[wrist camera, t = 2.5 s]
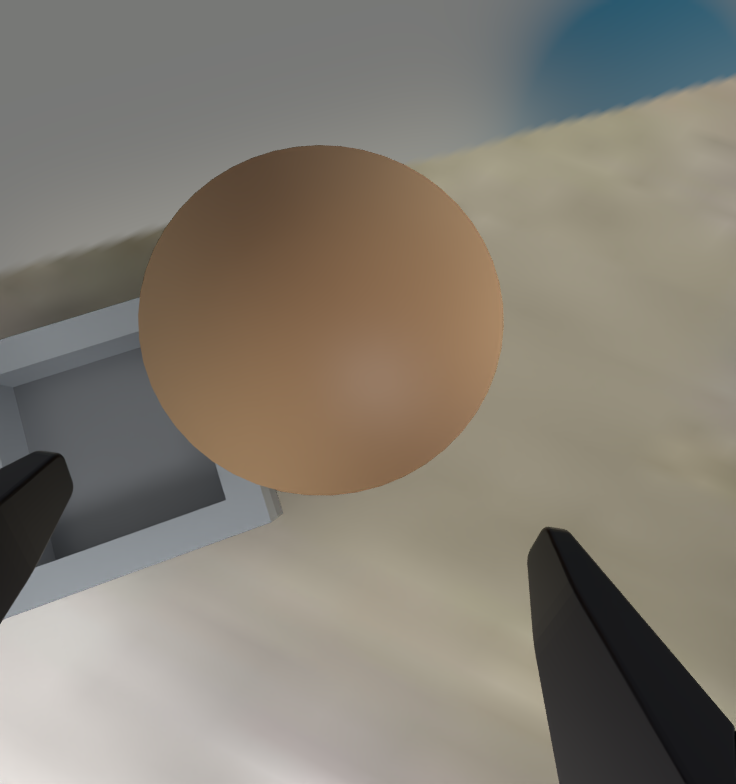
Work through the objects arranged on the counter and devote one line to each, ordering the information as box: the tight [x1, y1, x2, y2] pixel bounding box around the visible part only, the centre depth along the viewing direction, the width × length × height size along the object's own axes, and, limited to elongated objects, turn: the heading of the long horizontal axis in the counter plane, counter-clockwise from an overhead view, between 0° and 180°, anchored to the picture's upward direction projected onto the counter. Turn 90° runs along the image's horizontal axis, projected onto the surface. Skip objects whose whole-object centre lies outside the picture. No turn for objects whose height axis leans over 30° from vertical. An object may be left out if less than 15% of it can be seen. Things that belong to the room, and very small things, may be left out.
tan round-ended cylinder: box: [138, 145, 504, 495], centre depth 13 cm, size 5×5×13 cm
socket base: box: [0, 297, 283, 619], centre depth 17 cm, size 9×9×3 cm
